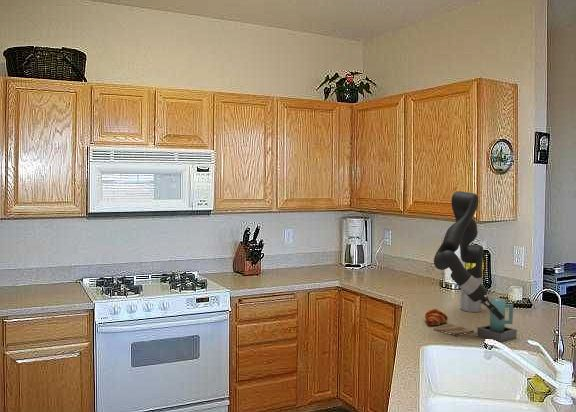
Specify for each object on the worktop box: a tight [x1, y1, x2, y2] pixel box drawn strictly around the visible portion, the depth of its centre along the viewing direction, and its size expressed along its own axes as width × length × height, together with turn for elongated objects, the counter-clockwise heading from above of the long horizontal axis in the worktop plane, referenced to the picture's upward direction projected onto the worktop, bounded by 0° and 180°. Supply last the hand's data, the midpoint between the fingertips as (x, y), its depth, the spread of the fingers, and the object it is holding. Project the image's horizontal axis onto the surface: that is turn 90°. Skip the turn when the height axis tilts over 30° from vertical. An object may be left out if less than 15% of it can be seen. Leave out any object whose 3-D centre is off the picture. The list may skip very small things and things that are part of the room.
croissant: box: [424, 308, 448, 326], centre depth 261 cm, size 21×10×8 cm, turn 152°
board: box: [433, 324, 475, 336], centre depth 246 cm, size 12×12×1 cm
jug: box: [489, 297, 514, 332], centre depth 237 cm, size 9×6×16 cm, turn 82°
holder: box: [476, 324, 518, 343], centre depth 238 cm, size 11×11×4 cm
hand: (500, 316), depth 237 cm, fingers open, 8 cm apart
